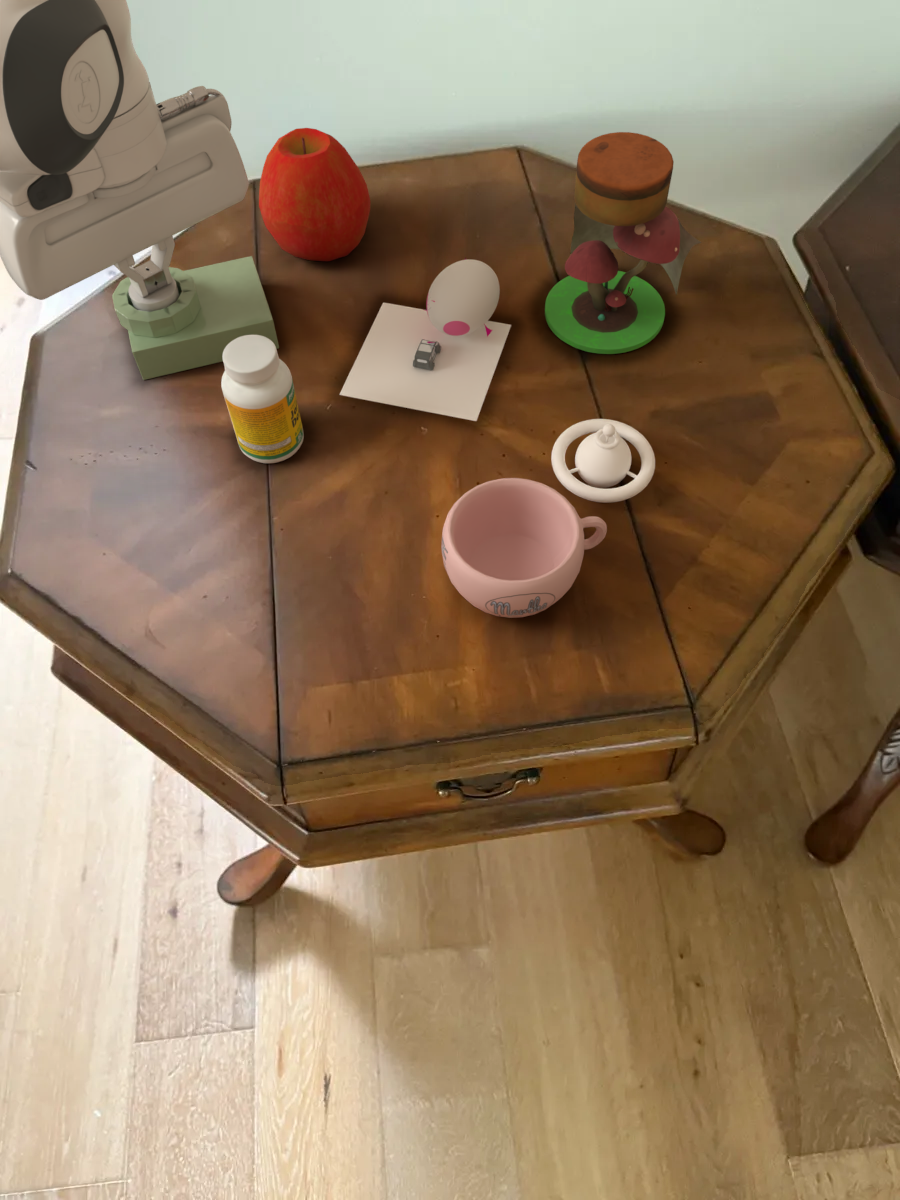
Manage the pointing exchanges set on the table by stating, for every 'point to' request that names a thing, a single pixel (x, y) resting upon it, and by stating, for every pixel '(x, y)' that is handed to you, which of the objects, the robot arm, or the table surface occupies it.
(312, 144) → the apple
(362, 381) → the thin white square mat
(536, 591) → the mug
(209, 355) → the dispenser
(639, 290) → the mushroom terrarium figurine
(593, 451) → the ring around a ball
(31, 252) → the robot arm
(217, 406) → the table surface
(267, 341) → the supplement bottle
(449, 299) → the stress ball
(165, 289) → the button
